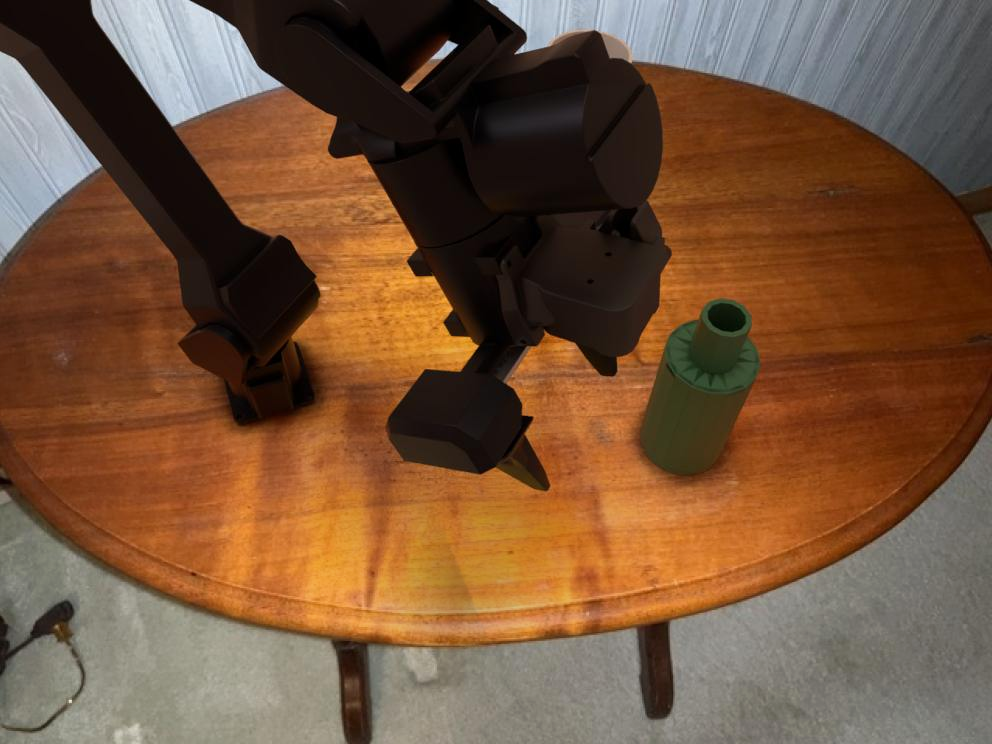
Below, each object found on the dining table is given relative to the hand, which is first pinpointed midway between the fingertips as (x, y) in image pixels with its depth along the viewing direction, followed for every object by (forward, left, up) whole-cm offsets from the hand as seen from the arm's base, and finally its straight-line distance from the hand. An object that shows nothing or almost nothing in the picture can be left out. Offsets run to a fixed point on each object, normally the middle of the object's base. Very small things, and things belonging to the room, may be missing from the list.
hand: (577, 428), depth 49 cm
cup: (-38, +19, -14) cm, 45 cm away
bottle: (-4, +12, -14) cm, 19 cm away
